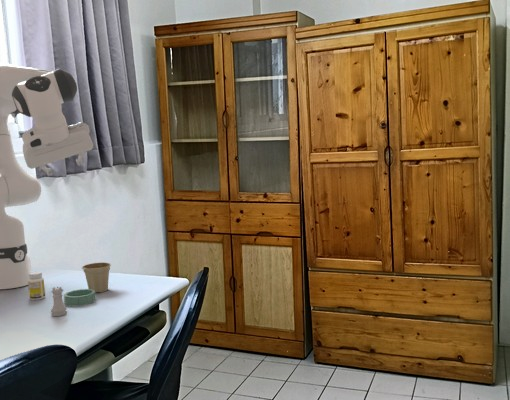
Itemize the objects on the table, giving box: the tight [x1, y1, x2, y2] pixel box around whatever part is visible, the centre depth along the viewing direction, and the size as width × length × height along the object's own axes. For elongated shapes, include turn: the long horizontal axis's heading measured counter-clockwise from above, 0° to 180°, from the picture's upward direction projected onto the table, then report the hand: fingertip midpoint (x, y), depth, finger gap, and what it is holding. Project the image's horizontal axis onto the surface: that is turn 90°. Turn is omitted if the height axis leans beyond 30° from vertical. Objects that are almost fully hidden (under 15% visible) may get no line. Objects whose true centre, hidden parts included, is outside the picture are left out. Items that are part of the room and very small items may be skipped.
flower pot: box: [81, 261, 112, 294], centre depth 197 cm, size 9×9×9 cm
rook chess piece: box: [50, 286, 68, 317], centre depth 172 cm, size 4×4×8 cm
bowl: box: [63, 288, 97, 307], centre depth 185 cm, size 9×9×3 cm
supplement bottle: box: [27, 271, 46, 301], centre depth 191 cm, size 5×5×8 cm
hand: (65, 169), depth 182 cm, fingers open, 8 cm apart
